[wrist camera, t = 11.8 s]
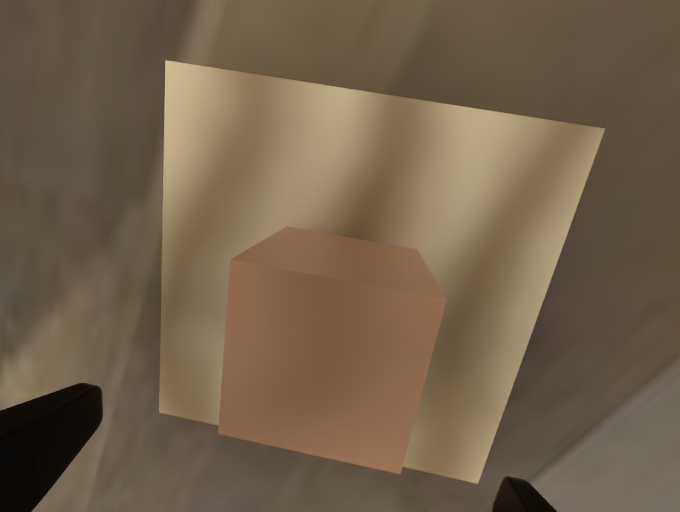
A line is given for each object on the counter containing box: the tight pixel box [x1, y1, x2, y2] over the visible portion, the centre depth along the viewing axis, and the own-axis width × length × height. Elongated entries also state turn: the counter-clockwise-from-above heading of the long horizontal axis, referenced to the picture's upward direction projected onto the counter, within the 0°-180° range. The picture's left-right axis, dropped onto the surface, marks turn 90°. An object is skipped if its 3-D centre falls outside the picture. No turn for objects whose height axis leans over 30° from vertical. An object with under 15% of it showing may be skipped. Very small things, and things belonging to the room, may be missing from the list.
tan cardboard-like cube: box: [218, 226, 447, 474], centre depth 12 cm, size 6×6×6 cm
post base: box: [159, 61, 605, 484], centre depth 13 cm, size 18×18×6 cm
